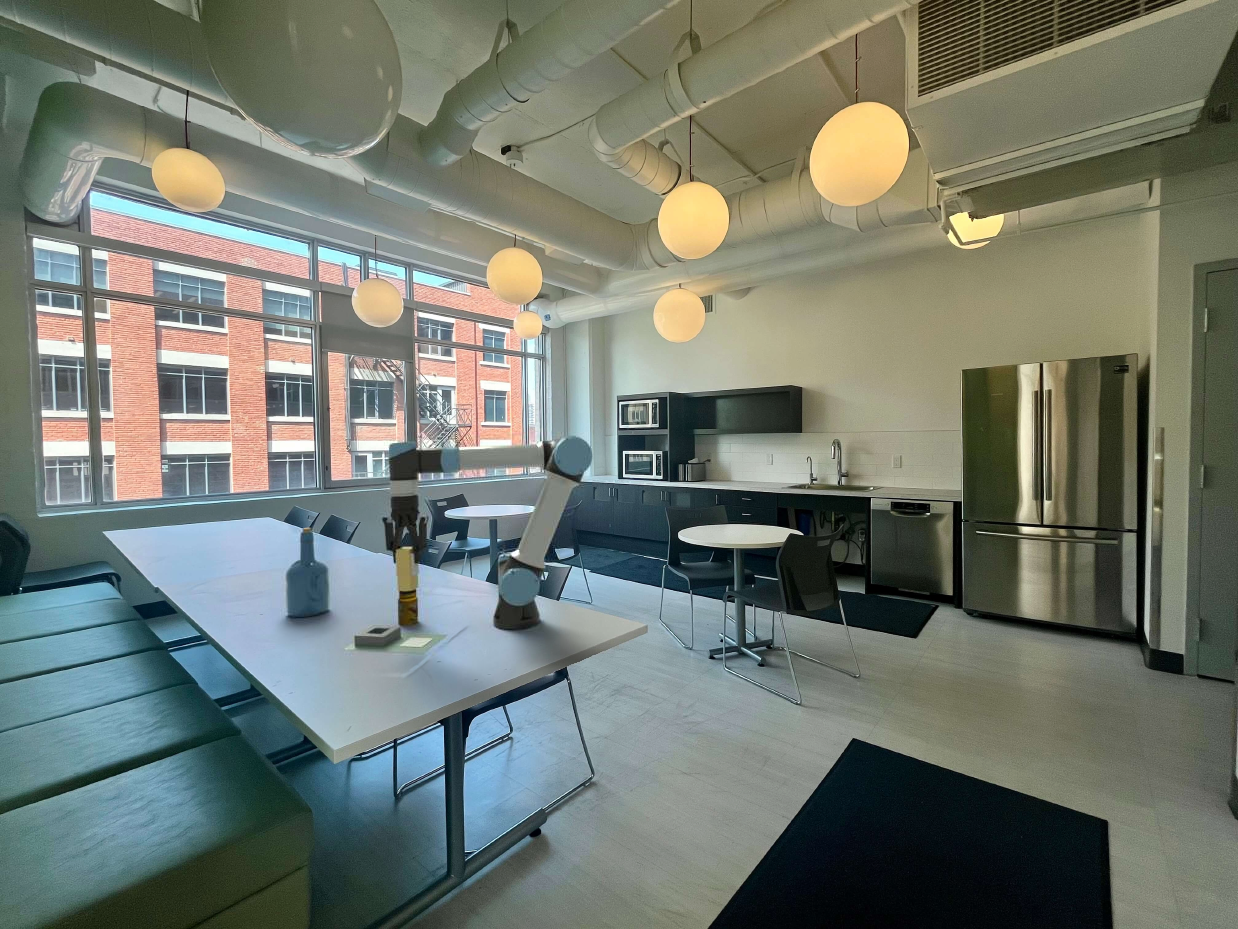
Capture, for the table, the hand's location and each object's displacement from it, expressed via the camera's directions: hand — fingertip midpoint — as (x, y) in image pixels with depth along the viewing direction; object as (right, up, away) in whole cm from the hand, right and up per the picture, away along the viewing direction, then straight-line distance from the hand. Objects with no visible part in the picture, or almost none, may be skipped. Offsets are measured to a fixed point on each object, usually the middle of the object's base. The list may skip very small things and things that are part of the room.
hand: (407, 574), depth 155 cm
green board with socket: (-3, -21, +1) cm, 21 cm away
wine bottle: (-48, -21, +33) cm, 62 cm away
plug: (0, -4, 0) cm, 4 cm away
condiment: (-8, -21, +18) cm, 29 cm away
